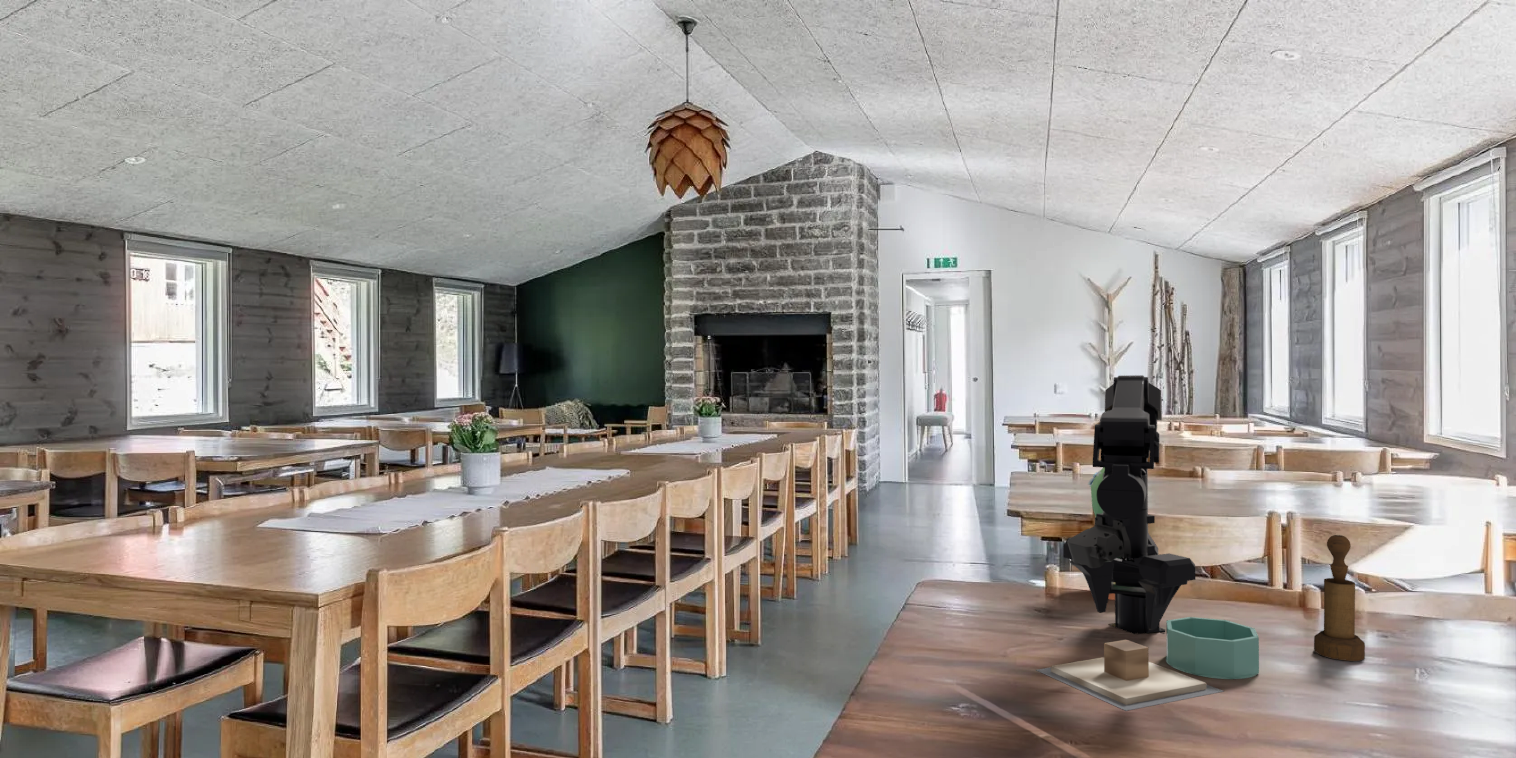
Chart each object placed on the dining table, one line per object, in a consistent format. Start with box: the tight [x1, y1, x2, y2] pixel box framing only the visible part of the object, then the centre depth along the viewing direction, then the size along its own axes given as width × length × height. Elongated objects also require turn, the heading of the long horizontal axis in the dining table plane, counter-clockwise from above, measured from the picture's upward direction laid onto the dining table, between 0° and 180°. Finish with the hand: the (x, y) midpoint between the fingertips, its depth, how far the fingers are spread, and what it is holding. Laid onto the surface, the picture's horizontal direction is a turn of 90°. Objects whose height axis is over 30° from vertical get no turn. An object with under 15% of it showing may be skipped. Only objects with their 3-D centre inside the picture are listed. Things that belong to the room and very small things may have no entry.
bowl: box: [1165, 616, 1260, 680], centre depth 130 cm, size 12×12×6 cm
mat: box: [1035, 666, 1225, 712], centre depth 124 cm, size 17×17×1 cm
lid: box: [1050, 639, 1207, 705], centre depth 124 cm, size 14×14×5 cm
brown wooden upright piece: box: [1313, 534, 1366, 662], centre depth 136 cm, size 7×6×18 cm
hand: (1126, 620), depth 124 cm, fingers open, 9 cm apart
